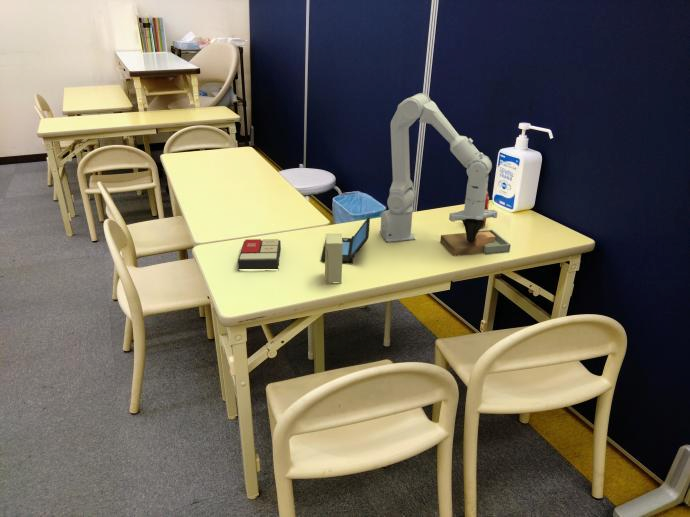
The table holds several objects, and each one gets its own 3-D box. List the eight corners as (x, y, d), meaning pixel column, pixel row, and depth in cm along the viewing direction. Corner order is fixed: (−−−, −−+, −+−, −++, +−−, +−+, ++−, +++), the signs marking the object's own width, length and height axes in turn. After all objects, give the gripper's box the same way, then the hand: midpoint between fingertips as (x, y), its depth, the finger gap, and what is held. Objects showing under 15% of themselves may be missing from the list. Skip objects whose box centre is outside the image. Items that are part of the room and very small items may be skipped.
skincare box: (324, 273, 145) (324, 233, 139) (340, 272, 145) (341, 232, 140) (325, 284, 139) (325, 243, 134) (342, 284, 140) (343, 242, 134)
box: (485, 254, 157) (486, 247, 156) (468, 238, 167) (469, 231, 166) (509, 251, 159) (510, 244, 158) (491, 236, 169) (492, 229, 168)
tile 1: (495, 236, 163) (494, 242, 164) (489, 231, 166) (488, 237, 167) (483, 237, 162) (482, 243, 163) (477, 232, 165) (477, 238, 166)
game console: (325, 241, 164) (325, 214, 160) (369, 243, 164) (370, 216, 160) (320, 263, 151) (319, 234, 147) (367, 265, 150) (368, 237, 146)
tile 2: (475, 245, 157) (476, 239, 156) (469, 239, 160) (470, 233, 159) (488, 244, 157) (488, 238, 157) (481, 238, 161) (482, 232, 160)
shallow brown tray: (453, 256, 156) (454, 248, 154) (440, 242, 164) (440, 235, 163) (484, 252, 158) (485, 245, 157) (469, 239, 166) (470, 232, 165)
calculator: (280, 237, 158) (277, 257, 144) (281, 250, 160) (278, 271, 146) (243, 238, 157) (237, 258, 144) (244, 251, 159) (238, 272, 145)
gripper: (458, 205, 147) (453, 248, 153) (505, 201, 150) (498, 244, 156) (448, 196, 153) (443, 239, 159) (493, 193, 156) (487, 234, 162)
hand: (470, 241), depth 158 cm, fingers closed
